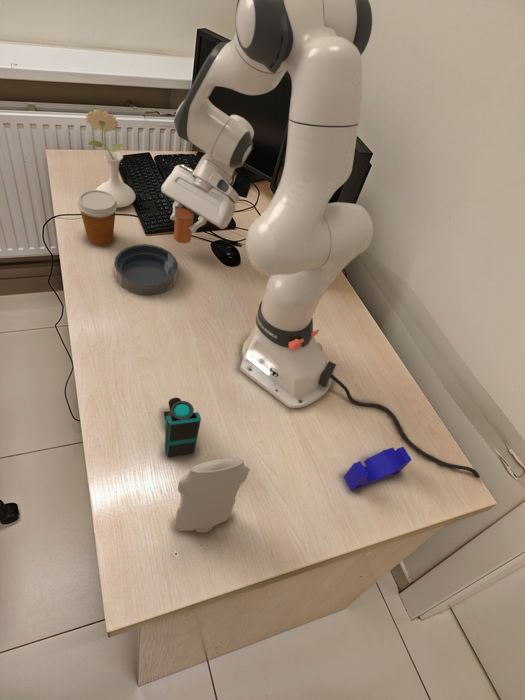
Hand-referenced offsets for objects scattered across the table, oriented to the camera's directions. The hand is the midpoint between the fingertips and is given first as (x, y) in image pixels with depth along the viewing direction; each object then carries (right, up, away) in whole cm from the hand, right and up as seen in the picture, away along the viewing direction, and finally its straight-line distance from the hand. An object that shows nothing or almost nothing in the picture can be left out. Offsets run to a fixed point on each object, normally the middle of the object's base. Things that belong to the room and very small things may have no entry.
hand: (182, 226), depth 119 cm
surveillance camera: (+4, -48, -28) cm, 56 cm away
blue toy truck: (+42, -57, -25) cm, 75 cm away
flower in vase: (-23, +12, +17) cm, 31 cm away
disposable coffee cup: (-23, -2, +4) cm, 23 cm away
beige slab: (+10, -62, -38) cm, 73 cm away
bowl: (-9, -13, -1) cm, 16 cm away
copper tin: (-1, -2, +3) cm, 4 cm away
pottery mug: (+6, +23, +34) cm, 41 cm away
